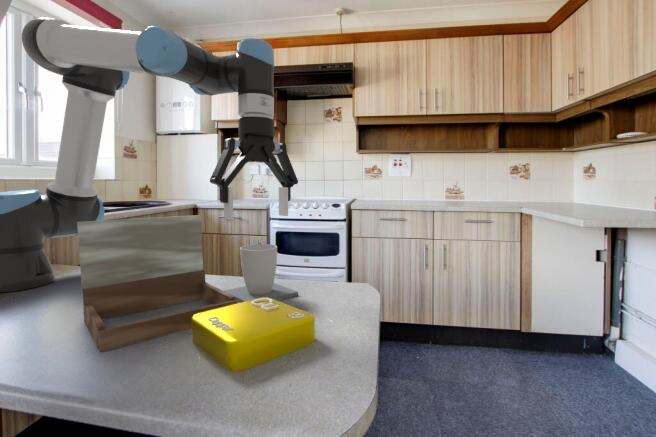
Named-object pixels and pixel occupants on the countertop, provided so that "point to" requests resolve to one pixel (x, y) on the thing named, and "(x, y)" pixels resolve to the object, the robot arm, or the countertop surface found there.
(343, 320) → the countertop surface
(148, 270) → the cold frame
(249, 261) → the cup
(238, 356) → the element tile
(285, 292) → the slate mat
